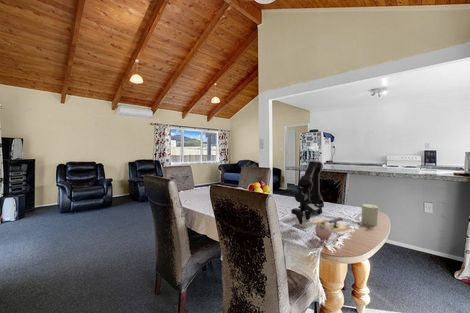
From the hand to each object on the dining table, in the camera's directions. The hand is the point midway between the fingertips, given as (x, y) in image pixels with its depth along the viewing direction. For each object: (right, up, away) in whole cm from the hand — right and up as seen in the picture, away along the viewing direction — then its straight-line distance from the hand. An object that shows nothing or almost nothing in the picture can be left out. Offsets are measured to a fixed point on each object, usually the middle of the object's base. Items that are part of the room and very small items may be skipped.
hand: (304, 223), depth 137 cm
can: (+46, -3, +8) cm, 47 cm away
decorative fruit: (+5, -4, -17) cm, 18 cm away
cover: (0, -1, 0) cm, 1 cm away
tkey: (+18, -1, -3) cm, 18 cm away
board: (+16, -3, 0) cm, 17 cm away
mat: (0, -3, 0) cm, 3 cm away
